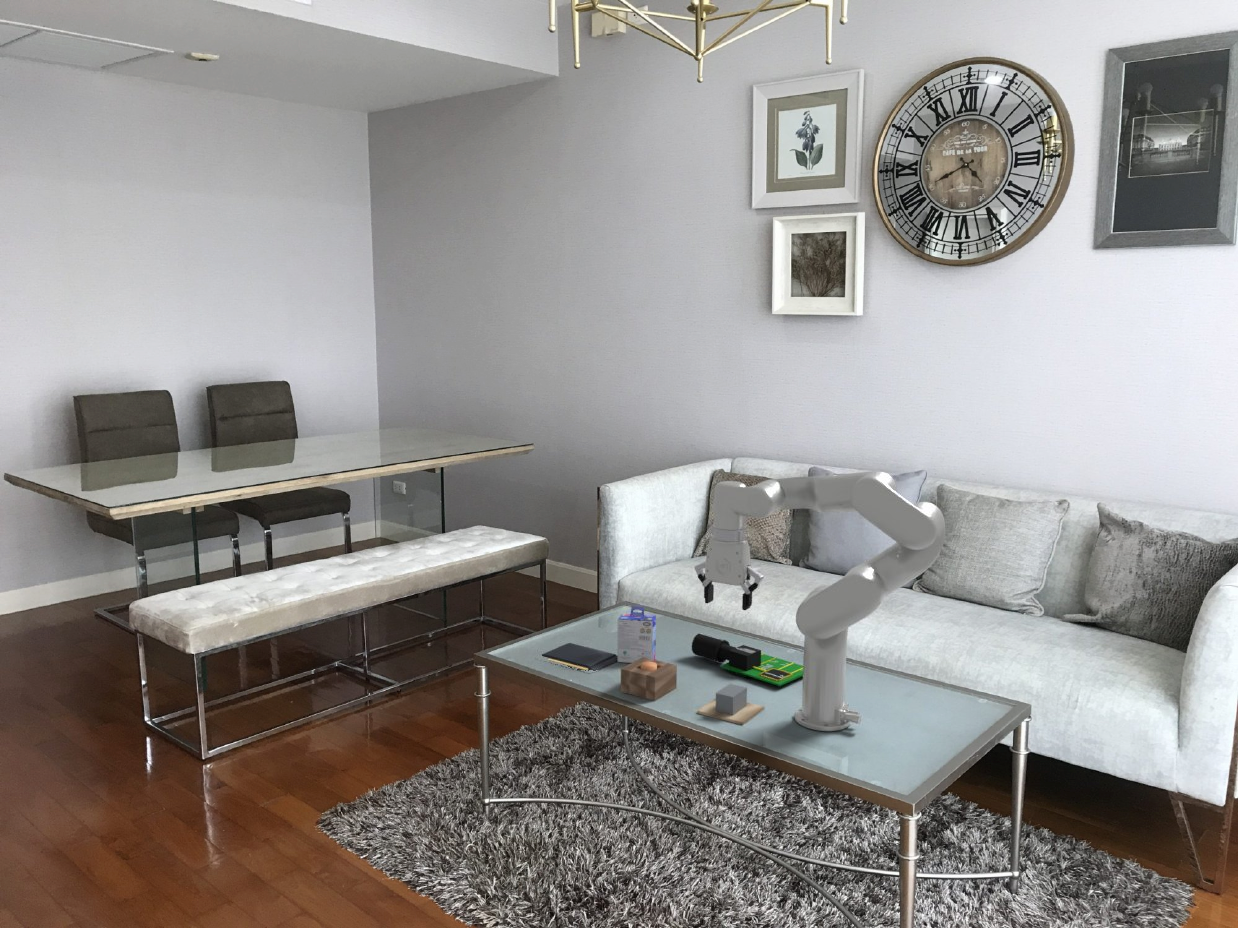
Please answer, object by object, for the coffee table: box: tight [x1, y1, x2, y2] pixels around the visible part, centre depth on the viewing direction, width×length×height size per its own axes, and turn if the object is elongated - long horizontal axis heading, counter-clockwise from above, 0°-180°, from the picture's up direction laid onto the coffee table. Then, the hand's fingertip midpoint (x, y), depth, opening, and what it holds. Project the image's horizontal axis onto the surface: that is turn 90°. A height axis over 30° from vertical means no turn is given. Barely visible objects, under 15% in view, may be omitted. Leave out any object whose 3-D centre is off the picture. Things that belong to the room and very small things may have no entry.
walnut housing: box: [620, 657, 678, 702], centre depth 243 cm, size 10×10×6 cm
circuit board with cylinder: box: [691, 632, 803, 687], centre depth 258 cm, size 30×7×15 cm
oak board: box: [696, 697, 765, 726], centre depth 231 cm, size 12×11×1 cm
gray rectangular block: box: [715, 683, 748, 716], centre depth 230 cm, size 7×4×4 cm, turn 146°
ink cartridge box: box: [616, 606, 657, 664], centre depth 263 cm, size 10×6×14 cm, turn 79°
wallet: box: [541, 642, 618, 672], centre depth 266 cm, size 20×2×15 cm
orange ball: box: [641, 662, 657, 672], centre depth 243 cm, size 4×4×4 cm
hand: (727, 605), depth 231 cm, fingers open, 9 cm apart
